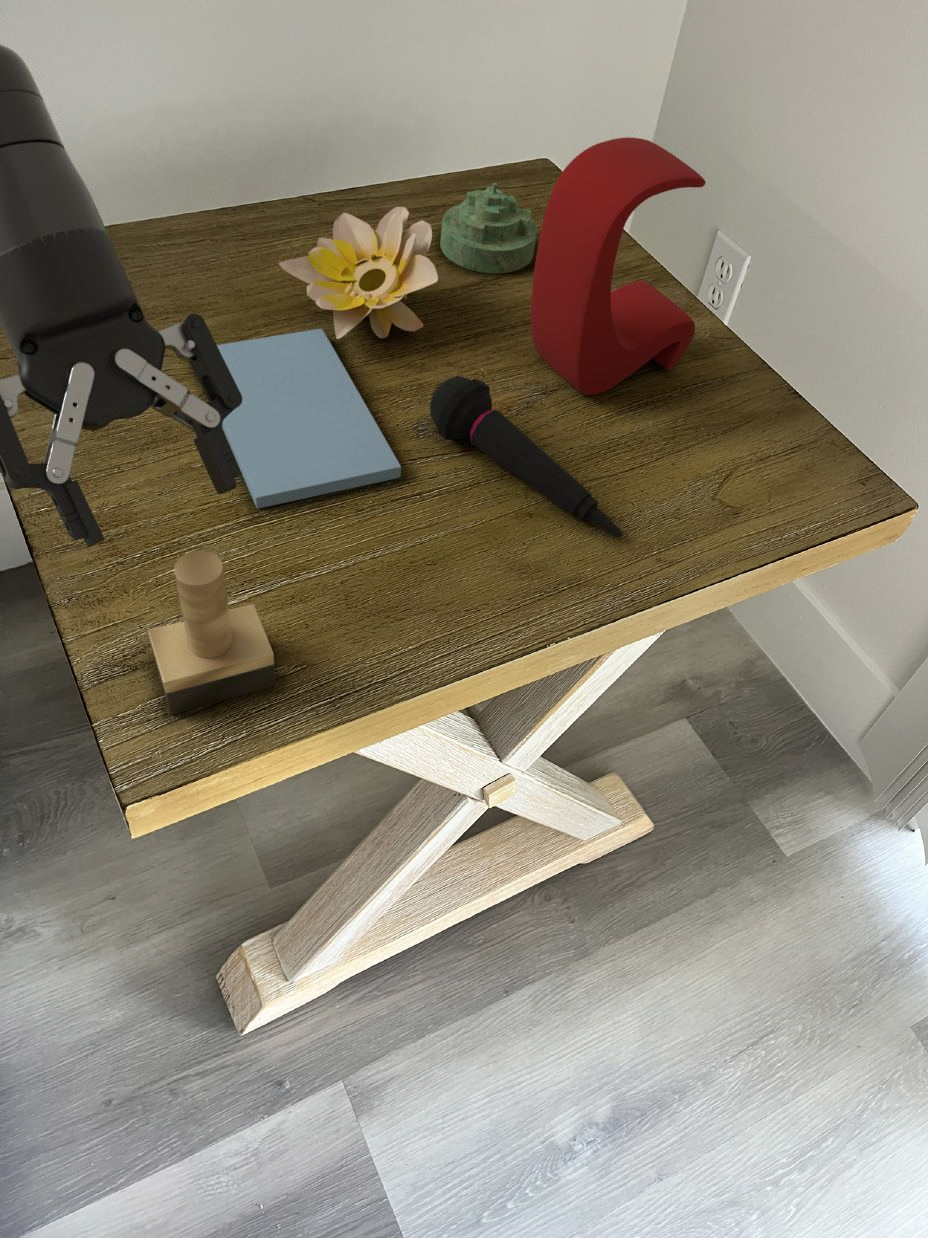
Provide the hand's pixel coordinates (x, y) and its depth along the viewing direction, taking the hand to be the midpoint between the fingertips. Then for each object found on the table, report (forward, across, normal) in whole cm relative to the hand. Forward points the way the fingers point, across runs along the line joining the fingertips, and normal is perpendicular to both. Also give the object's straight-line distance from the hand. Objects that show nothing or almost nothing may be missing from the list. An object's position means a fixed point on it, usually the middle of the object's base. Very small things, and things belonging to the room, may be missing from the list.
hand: (164, 516), depth 59 cm
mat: (-4, +19, +20) cm, 27 cm away
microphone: (+8, +30, +8) cm, 32 cm away
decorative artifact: (-13, +51, +30) cm, 60 cm away
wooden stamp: (+11, 0, +5) cm, 12 cm away
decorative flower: (-11, +33, +28) cm, 44 cm away
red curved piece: (+2, +47, +14) cm, 49 cm away
